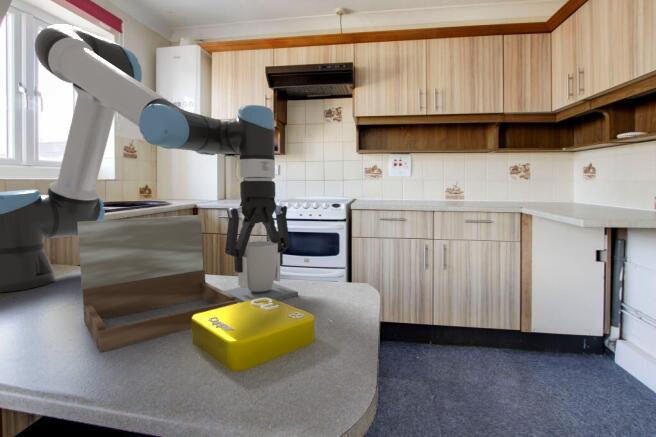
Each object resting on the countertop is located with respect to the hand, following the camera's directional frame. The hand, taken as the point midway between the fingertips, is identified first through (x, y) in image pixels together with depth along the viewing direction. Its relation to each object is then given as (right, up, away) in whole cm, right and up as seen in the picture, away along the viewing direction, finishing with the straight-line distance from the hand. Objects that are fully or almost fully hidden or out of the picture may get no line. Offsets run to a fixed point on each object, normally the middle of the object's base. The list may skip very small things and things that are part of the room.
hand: (259, 283), depth 80 cm
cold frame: (-15, -4, -14) cm, 21 cm away
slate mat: (0, -3, 0) cm, 3 cm away
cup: (0, -1, 0) cm, 1 cm away
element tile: (+3, -5, -23) cm, 24 cm away
